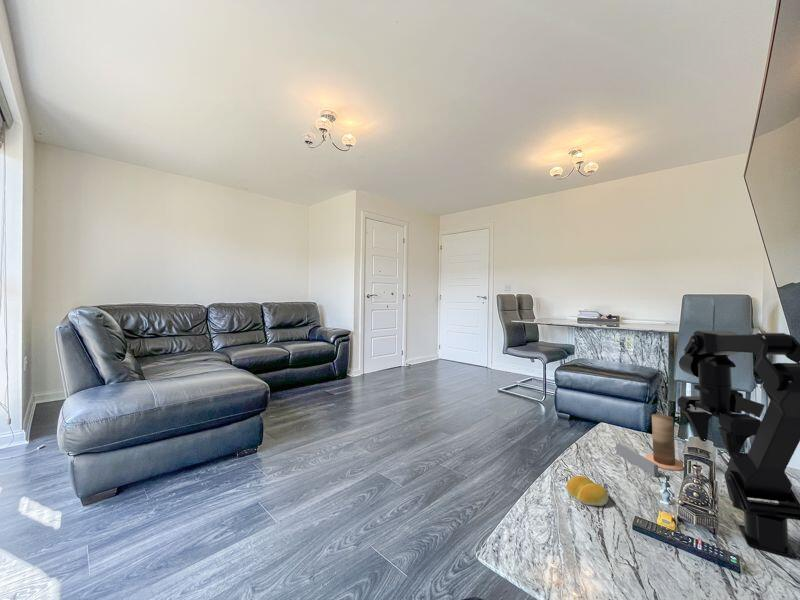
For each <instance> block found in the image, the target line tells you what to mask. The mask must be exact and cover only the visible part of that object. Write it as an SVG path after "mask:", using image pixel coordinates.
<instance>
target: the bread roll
mask: <svg viewBox="0 0 800 600" xmlns="http://www.w3.org/2000/svg"><path fill="white" fill-rule="evenodd" d="M565 485H566V491H567V493H568V494H569V495H570V496H571V497H573V499H576V500H578V501H579V502H581V504H584V505H586V506H591V507H592V506H593V507H594V506H595V507H603V506H605V505H606V504H607V503H608V502H609V493H608V491H607V489H605V487H604V486H603V485H601V484H599V483H596V482H594V481H593V480H591V479H590V478H588V477H586V476H583V475H576V476H574V477H572V478H570V479H569V480H568V481H567V482H566V484H565Z"/></svg>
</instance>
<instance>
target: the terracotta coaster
mask: <svg viewBox="0 0 800 600" xmlns="http://www.w3.org/2000/svg"><path fill="white" fill-rule="evenodd" d="M644 458H646V459H648V460H650V461H651V462H653V463H655V464H657V465H658V469H663V470H666V471H667V470H668V471H676V472H677V471H682V470H684V469H683V464H684V462H682V461H681V460H679V459H676V458H675V465H673V466H668V465H663V464H659V463H657V462H655V461H654V459H653V453H652V454H647V455H646V456H644Z"/></svg>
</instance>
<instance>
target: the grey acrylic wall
mask: <svg viewBox="0 0 800 600" xmlns="http://www.w3.org/2000/svg"><path fill="white" fill-rule="evenodd" d="M615 448H616V449H615V451H616V455H618V456H619V457H622V458H623V459H625V460H626V461H628V462H629V463H631V464H633V465H634V466H636V467H638V468H639V469H641V470H643V471H644V472H646V473H648V474H649V475H651V476H653V477H654V478H655V477H657V478H658V477H659V467H658V465H657V464H655V463H653V462H651V461H650V460H648V459H646V458H645V456H643V455H641V454H640V453H637V452H636V451H633V450H632V449H630V448H628V447H626V446H625V445H623V444H621V443H616V444H615Z"/></svg>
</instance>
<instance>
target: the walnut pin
mask: <svg viewBox="0 0 800 600" xmlns="http://www.w3.org/2000/svg"><path fill="white" fill-rule="evenodd" d="M674 425H675V424H674V417H673V416H670V415H667V414H661V413H652V414H651V432H652V435H651V436H652V454H653V459H654V461H655V462H657V463H659V464H663V465H668V466H673V465H675V459H676V447H675V446H676V445H675V426H674Z"/></svg>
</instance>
